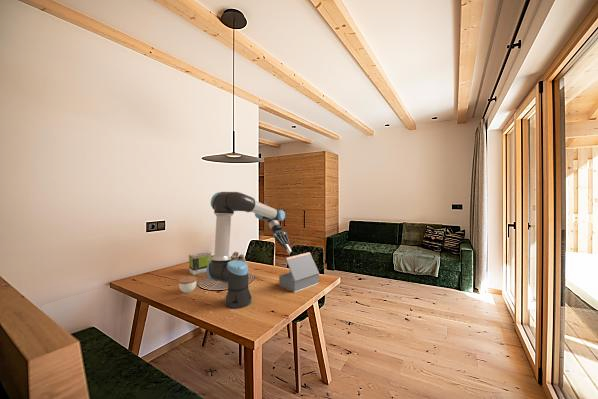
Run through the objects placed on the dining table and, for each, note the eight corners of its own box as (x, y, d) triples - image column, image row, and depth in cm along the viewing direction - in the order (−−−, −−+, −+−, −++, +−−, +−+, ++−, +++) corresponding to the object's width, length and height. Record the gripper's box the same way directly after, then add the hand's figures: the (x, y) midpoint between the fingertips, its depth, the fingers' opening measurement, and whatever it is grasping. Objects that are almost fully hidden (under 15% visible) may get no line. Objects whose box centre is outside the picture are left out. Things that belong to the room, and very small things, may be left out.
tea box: (207, 268, 212) (207, 250, 212) (212, 271, 204) (211, 253, 204) (189, 272, 203) (188, 254, 202) (193, 275, 195) (192, 256, 194)
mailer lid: (294, 281, 159) (295, 281, 159) (285, 258, 166) (285, 257, 165) (318, 273, 174) (319, 272, 173) (309, 252, 180) (309, 251, 180)
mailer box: (294, 292, 160) (294, 281, 159) (279, 285, 172) (279, 275, 171) (318, 283, 174) (318, 273, 174) (303, 277, 186) (302, 268, 186)
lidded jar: (200, 290, 166) (199, 276, 165) (185, 295, 157) (184, 281, 156) (190, 286, 172) (190, 273, 171) (175, 292, 163) (175, 277, 162)
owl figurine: (235, 277, 188) (234, 255, 188) (223, 275, 194) (222, 253, 193) (250, 270, 204) (250, 249, 203) (239, 268, 210) (239, 248, 209)
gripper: (280, 228, 198) (294, 253, 187) (266, 231, 189) (280, 257, 178) (284, 222, 194) (299, 247, 183) (270, 224, 185) (285, 251, 174)
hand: (290, 252), depth 180 cm, fingers closed
